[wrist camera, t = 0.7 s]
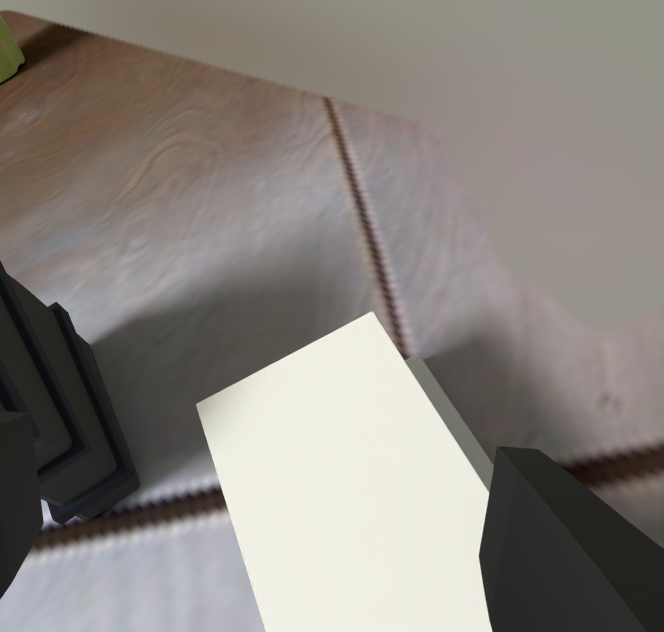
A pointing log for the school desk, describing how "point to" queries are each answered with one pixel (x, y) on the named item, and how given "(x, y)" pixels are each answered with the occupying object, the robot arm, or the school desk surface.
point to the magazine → (61, 406)
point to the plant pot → (8, 53)
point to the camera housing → (353, 489)
